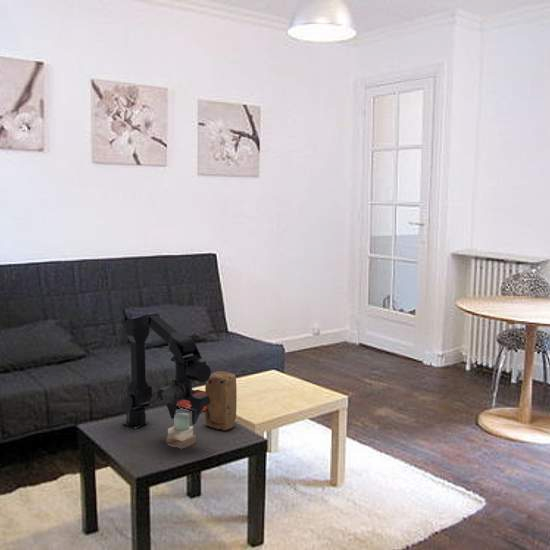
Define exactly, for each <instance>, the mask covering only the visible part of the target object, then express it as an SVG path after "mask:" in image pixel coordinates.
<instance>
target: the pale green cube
mask: <svg viewBox="0 0 550 550" xmlns="http://www.w3.org/2000/svg"><path fill="white" fill-rule="evenodd" d="M173 422H174V423H173V426H174V429H175V430H177V431H186V430H188V429H189V426H190V414H189V413H186V412H178V413H175V415H174V419H173Z"/></svg>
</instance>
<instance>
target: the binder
mask: <svg viewBox="0 0 550 550" xmlns="http://www.w3.org/2000/svg"><path fill="white" fill-rule="evenodd" d="M194 390H195V393H194V394H192V396H196V395H198V394H204V395H205V390H201V389H194ZM190 406H191V404H190V401H188V400H184V399H182V400H181V401H177V405H176V407H178V408H177V409H180V408H183V409H187V410H189V411H192V410H191V408H190ZM179 407H180V408H179ZM205 410H206V406H205V407H204V408H203V410H202V411H201V412H204V411H205ZM204 413H205V412H204Z"/></svg>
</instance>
